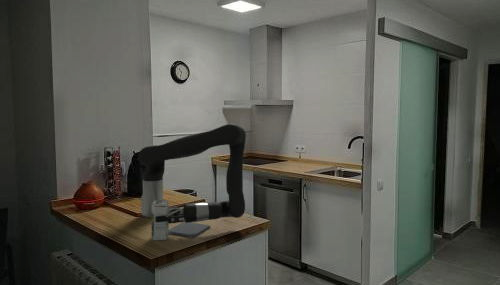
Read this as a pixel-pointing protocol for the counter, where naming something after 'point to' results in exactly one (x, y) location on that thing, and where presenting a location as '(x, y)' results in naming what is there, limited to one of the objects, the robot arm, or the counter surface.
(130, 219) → the counter surface
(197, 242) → the counter surface
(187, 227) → the trivet mat
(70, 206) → the counter surface
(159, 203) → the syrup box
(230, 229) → the counter surface
